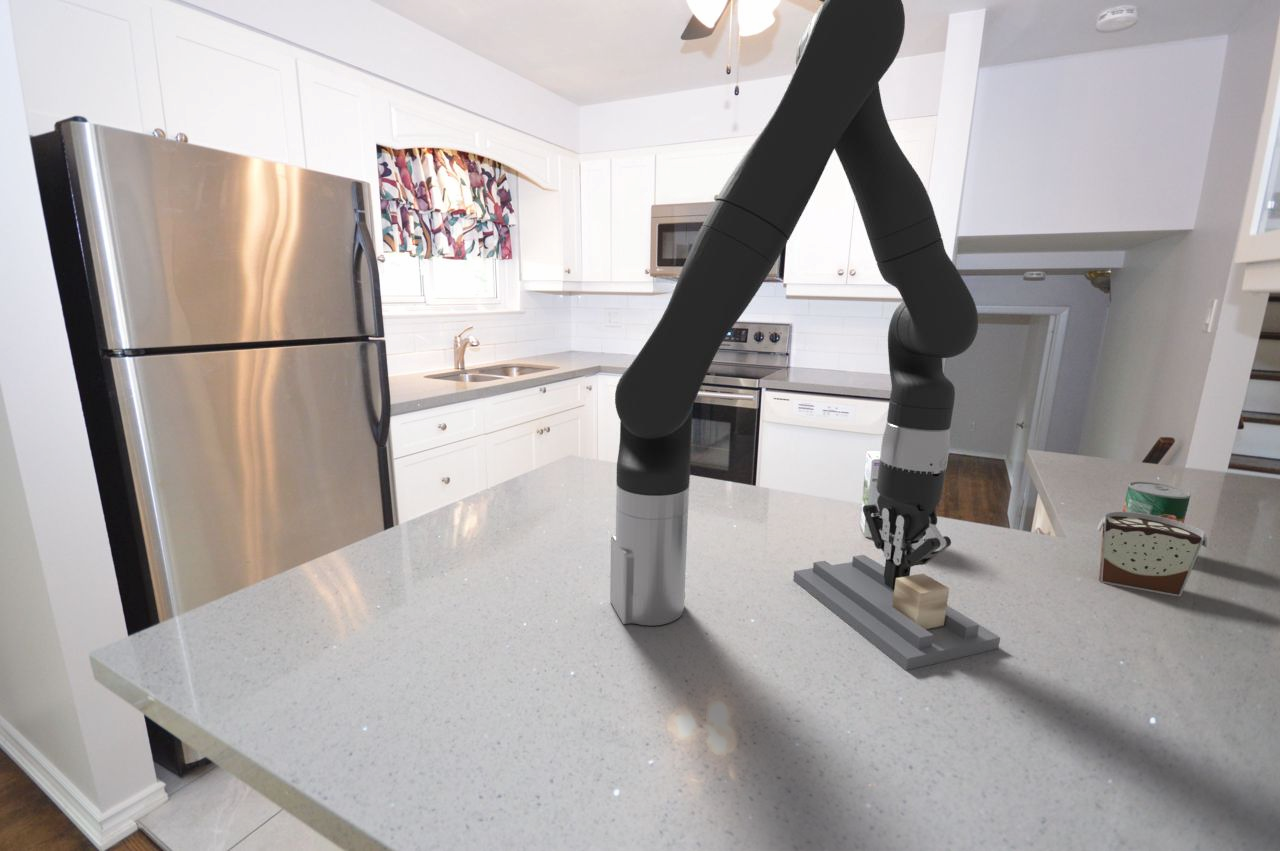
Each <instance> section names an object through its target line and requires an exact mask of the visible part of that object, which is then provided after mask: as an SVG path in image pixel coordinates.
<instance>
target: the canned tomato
mask: <svg viewBox="0 0 1280 851" xmlns="http://www.w3.org/2000/svg"><path fill="white" fill-rule="evenodd" d="M1191 497H1192V494H1191V493H1190V492H1189V491H1188V490H1185V489H1182V488H1180V487H1177V486H1176V487H1175V486H1172V485H1168V484H1163V483H1159V482H1157V483H1156V482H1152V481H1151V482H1149V481H1131V482H1129V483H1128V487H1127V492H1126V497H1125V501H1124V505H1123V510H1122V512H1135V513H1142V514H1149V515H1154V516H1159V517H1164V518H1168V519H1172V520H1175V521H1179V522H1182V523H1185V519H1186V516H1187V512H1188V507H1189V503H1190V498H1191Z"/></svg>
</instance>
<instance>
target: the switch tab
mask: <svg viewBox="0 0 1280 851" xmlns="http://www.w3.org/2000/svg"><path fill="white" fill-rule="evenodd" d="M949 593H950V587H948V586H946V585H945V584H942V583H941V582H939V581H937V580H935V579H934V578H933V577H930V576H929V575H927V574H925V573H917V574H912V575H910V576H906V577H900V578H896V581H895V589H894V597H893V604H892V607H894V608H895V609H896V610H898V611H899V612H901V613H902V614H904V615H905V616H907V617H908V618H910V619H911V620H913V621H914V622H915V623H917V624H918V625H920V626H921V627H923V628H924V629H930V628H934V627H939V626H944V620H945V614H946V607H947V605H948V598H949Z"/></svg>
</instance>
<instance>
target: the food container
mask: <svg viewBox="0 0 1280 851" xmlns="http://www.w3.org/2000/svg"><path fill="white" fill-rule="evenodd" d="M1101 529H1102V536H1101V537H1102V538H1101V548H1100V549H1101V550H1100V551H1101V552H1100V564H1099V566H1100V567H1099V577H1098V578H1099V579H1098V580H1099V583H1102V584H1106V585H1107V584H1108V585H1112V586H1118V587H1124V588H1128V589H1129V588H1130V589H1134V590H1140V591H1145V592H1151V593H1156V594H1163V595H1168V596H1174V597H1180V598H1181V597H1182V595H1183V592H1184V589H1185V587H1186V584H1187V582H1188V580H1189V577H1190V575H1191V572H1192V570H1193V568H1194V565H1195V562H1196V560H1197V557H1198V555H1199V552H1200V550H1201V548H1202V546H1203V547H1205V548H1208V538H1207V536H1206V532H1205V531H1204V530H1202V529H1200V528H1198V527H1195V526H1193V525H1190V524H1188V523H1185V522H1184V523H1182V522H1179V521H1175V520H1172V519H1168V518H1164V517H1159V516H1154V515H1149V514H1142V513H1135V512H1123V511H1112V512H1107V513H1105V514H1104V516H1103V517H1102V518H1101V519H1100V522H1099V523H1098V525H1097V531H1098V532H1101Z"/></svg>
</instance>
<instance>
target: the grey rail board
mask: <svg viewBox="0 0 1280 851" xmlns="http://www.w3.org/2000/svg"><path fill="white" fill-rule="evenodd" d="M884 570H885V565H882V564H880V563H879V562H877V561H876V560H874V559H872V558H870V557H868V556H867V555H865V554H861V555H854V556H852V561H851V562H849V561H848V562H845V563H837V564H831V563H829V562H828V561H826V560H821V561H820V560H819V561H815V562H814V561H813V564H812V567H811V568H806V569H799V570H798V569H797V570H794V571H793V581H794V582H795V583H796V584H797V585H798V586H800V587H801V588H802V589H803V590H805V591H806V592H807V593H808V594H810V595H811V596H812V597H813V598H815V599H816V600H817V601H818V602H820V603H821V605H823V606H824V607H826V608H828V610H829V611H831V612H832V613H833V614H835V615H836V616H837V617H838V618H840V619H841V620H842V621H844V623H846V624H847V625H848V626H849V627H851V628H852V629H854V630H855V631H856V632H857V633H858V634H860V635H861V636H862V637H864V638H865V639H866V640H867V641H868V642H870V643H871V644H873V646H875V647H876V648H877V649H878V650H879V651H881V652H882V653H884V655H886V656H887V657H888V658H890V659H891V660H892V661H893V662H894V663H896V664H897V665H898V666H900V667H901V668H902V669H903V670H905V671H909V670H914V669H918V668H922V667H926V666H927V667H928V666H930V665H934V664H939V663H943V662H947V661H951V660H955V659H960V658H964V657H968V656H969V657H970V656H972V655H977V654H981V653H985V652H989V651H993V650H997V649H999V648H1000V641H1001V637H1000V636H999V635H997V634H996V633H995V632H992V631H991V630H989V629H987V628H986V627H984V626H982V625H981V624H979V622H976V621H974V620H973V619H971V618H969V617H968V616H966V615H965V614H962V613H961V612H959V611H958V610H956V609H955V608H953V607H951V606H949V605H948V604H947V607H946V614H945V620H944V626H939V627H934V628H930V629H924V628H923V627H921V626H920V625H918V624H917V623H915V622H914V621H913V620H911V619H910V618H908V617H907V616H905V615H904V614H902V613H901V612H899V611H898V610H896V609H895V608H894V607H892V604H893V597H894V590H892V589H891V588H889V587H888V586H886V585H885V580H884V572H885V571H884Z"/></svg>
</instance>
